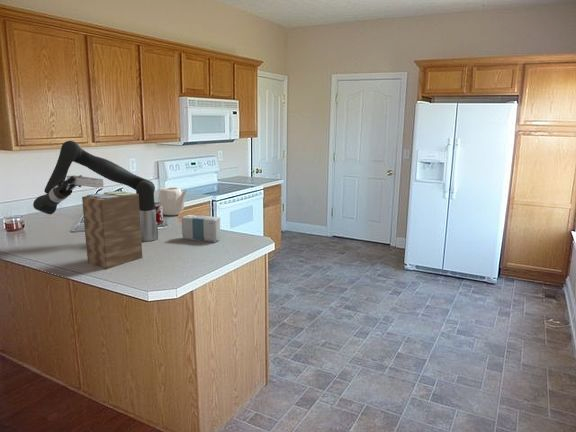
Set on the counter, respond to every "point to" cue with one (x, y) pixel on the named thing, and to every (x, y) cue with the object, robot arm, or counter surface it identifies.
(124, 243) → the stand
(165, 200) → the cream teapot
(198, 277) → the counter surface
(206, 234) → the white banded box
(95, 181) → the bar
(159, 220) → the soda can
